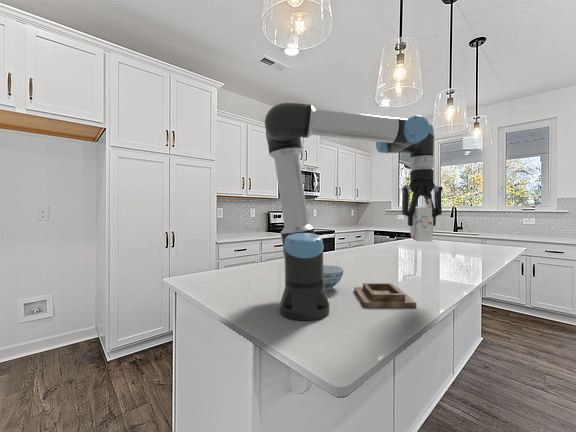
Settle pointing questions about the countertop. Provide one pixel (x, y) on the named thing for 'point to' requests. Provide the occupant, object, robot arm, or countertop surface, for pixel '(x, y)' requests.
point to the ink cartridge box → (423, 222)
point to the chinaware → (331, 276)
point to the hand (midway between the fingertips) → (421, 235)
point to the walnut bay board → (383, 296)
